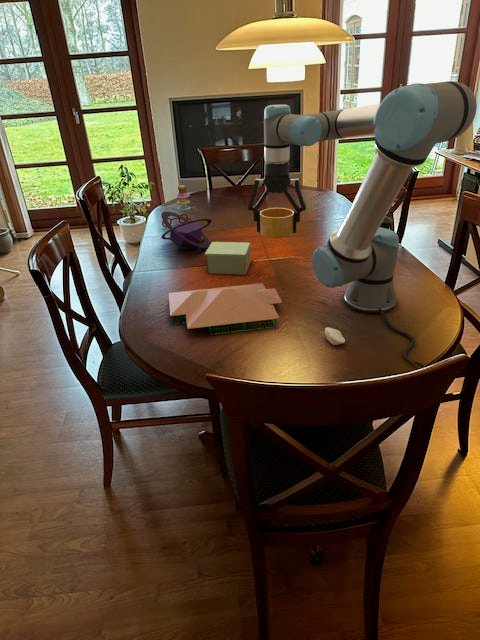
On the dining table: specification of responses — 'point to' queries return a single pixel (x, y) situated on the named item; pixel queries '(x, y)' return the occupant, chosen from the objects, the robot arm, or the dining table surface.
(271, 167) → the robot arm
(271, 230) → the bowl
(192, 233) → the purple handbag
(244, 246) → the chest lid
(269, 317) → the house
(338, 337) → the white rock
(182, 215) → the glasses
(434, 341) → the dining table surface
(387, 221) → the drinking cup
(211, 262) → the chest
